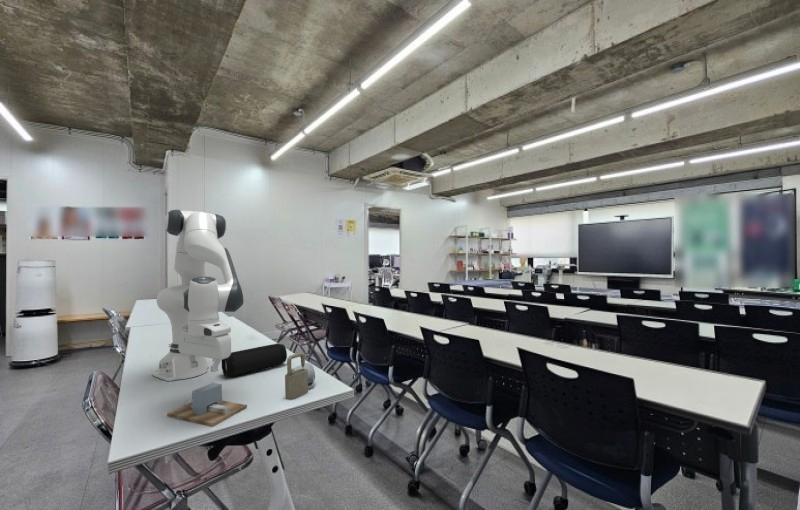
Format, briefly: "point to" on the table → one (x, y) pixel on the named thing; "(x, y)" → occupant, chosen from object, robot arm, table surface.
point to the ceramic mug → (310, 373)
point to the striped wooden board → (211, 417)
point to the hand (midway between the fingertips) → (204, 369)
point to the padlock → (296, 378)
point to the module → (206, 397)
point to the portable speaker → (254, 359)
